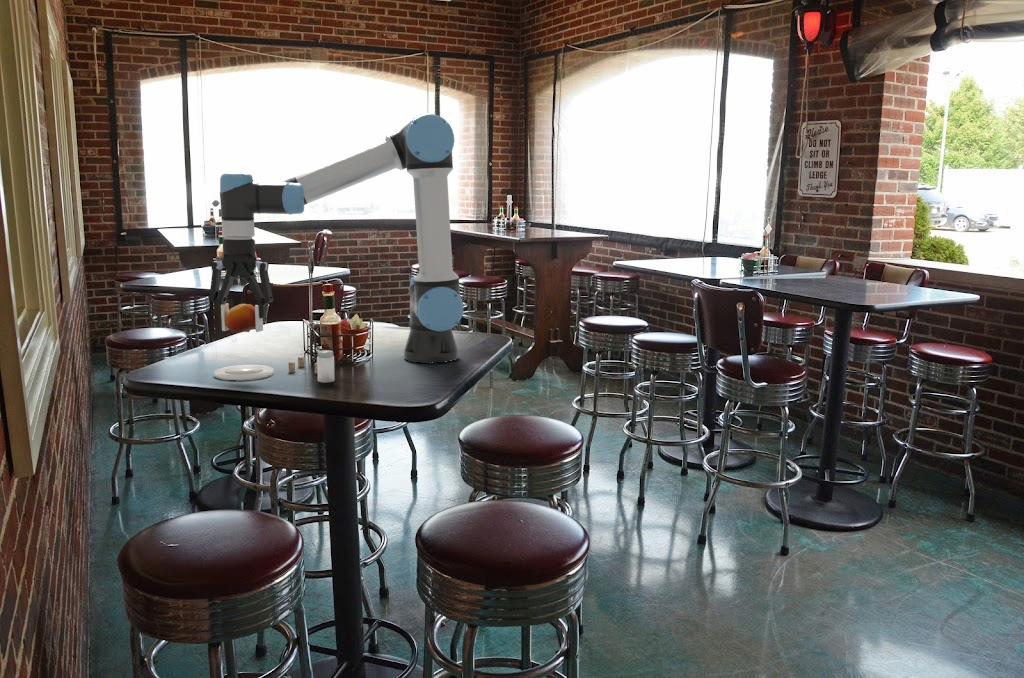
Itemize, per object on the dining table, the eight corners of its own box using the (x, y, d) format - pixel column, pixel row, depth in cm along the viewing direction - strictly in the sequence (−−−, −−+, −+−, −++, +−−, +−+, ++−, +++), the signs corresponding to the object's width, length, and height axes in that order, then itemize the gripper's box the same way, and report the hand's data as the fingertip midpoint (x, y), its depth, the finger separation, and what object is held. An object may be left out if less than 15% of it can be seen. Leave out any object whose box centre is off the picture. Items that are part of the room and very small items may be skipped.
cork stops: (330, 367, 213) (330, 357, 213) (320, 373, 205) (319, 364, 205) (299, 365, 214) (299, 356, 214) (287, 372, 206) (287, 363, 205)
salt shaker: (336, 379, 200) (336, 350, 199) (331, 382, 196) (330, 353, 195) (320, 378, 200) (320, 349, 199) (315, 382, 196) (314, 352, 195)
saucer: (281, 369, 209) (281, 364, 209) (260, 381, 196) (259, 376, 195) (229, 367, 210) (229, 362, 210) (204, 379, 197) (204, 373, 197)
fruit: (256, 329, 196) (239, 300, 195) (231, 344, 198) (214, 316, 197) (272, 324, 204) (256, 296, 203) (248, 338, 206) (232, 311, 205)
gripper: (285, 238, 200) (288, 329, 204) (204, 236, 202) (209, 326, 206) (274, 239, 192) (277, 334, 196) (190, 238, 194) (195, 331, 198)
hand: (242, 330), depth 201 cm, fingers closed on fruit, 8 cm apart
